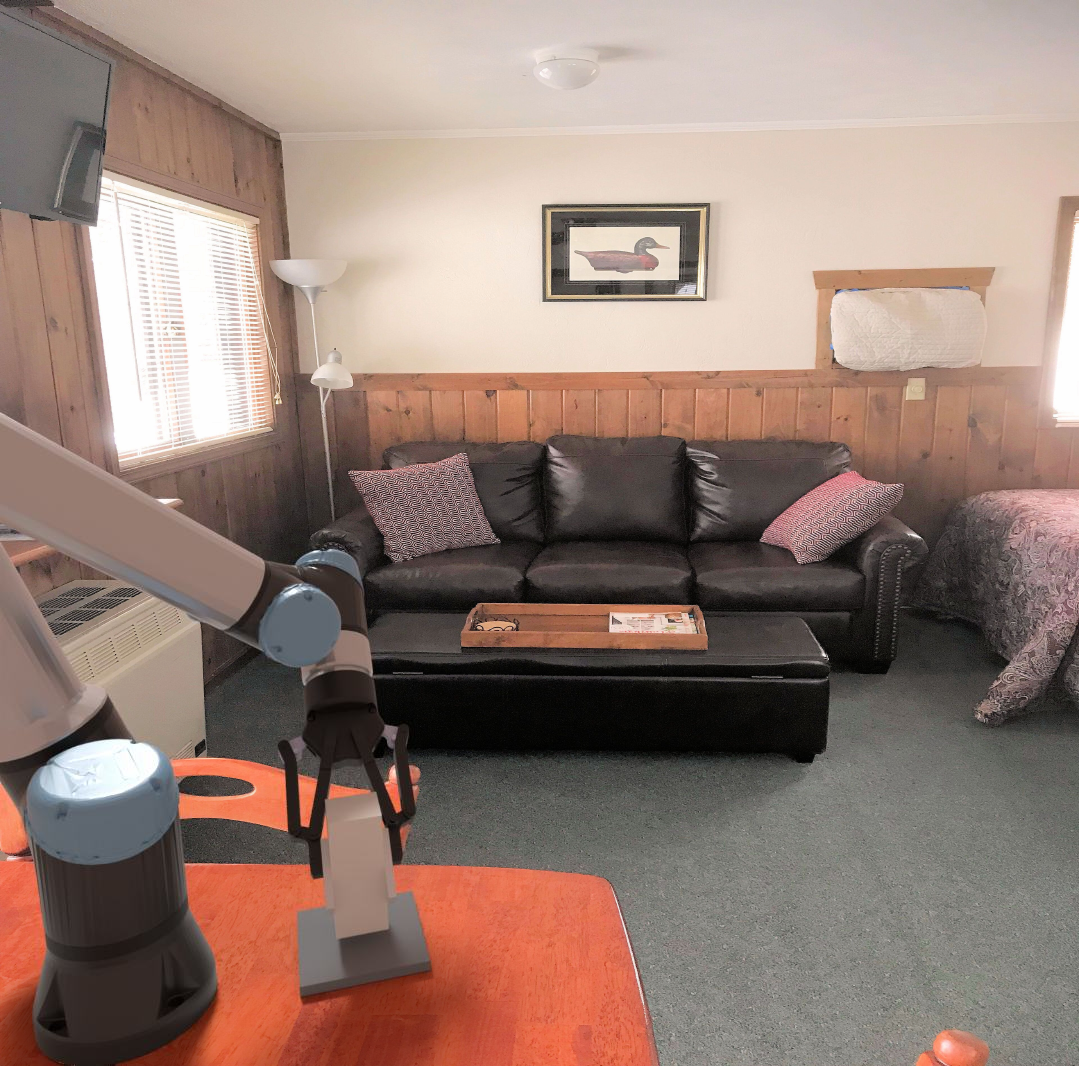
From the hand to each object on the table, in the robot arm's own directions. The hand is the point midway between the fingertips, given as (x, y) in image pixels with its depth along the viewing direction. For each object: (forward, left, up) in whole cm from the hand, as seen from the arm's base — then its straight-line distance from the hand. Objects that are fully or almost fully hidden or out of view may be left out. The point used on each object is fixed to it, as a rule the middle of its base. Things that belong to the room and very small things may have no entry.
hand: (361, 906), depth 84 cm
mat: (0, +4, -6) cm, 7 cm away
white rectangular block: (0, +4, -4) cm, 5 cm away
